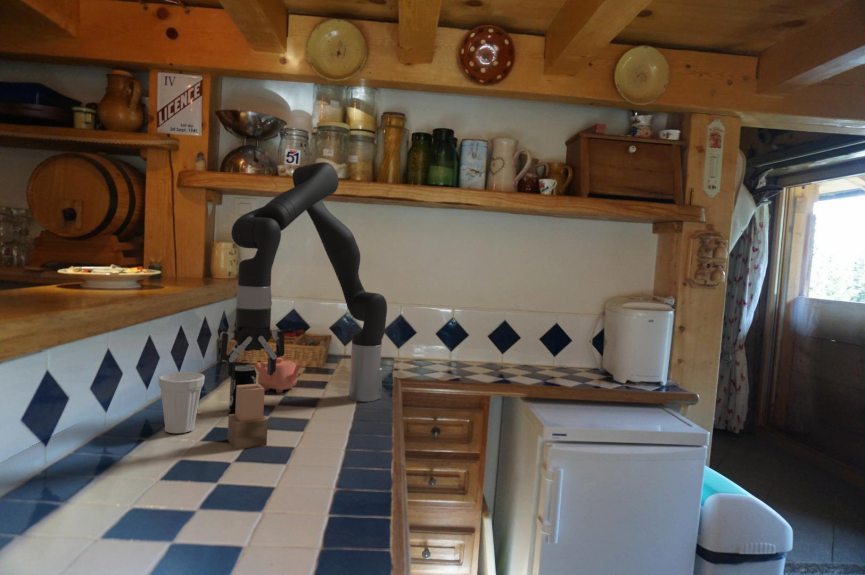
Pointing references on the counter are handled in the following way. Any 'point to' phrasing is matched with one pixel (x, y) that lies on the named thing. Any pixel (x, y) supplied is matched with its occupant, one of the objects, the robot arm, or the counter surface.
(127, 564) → the counter surface
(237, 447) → the base block
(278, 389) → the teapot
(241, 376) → the beverage can
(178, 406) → the cup
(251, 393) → the tan cardboard cube
